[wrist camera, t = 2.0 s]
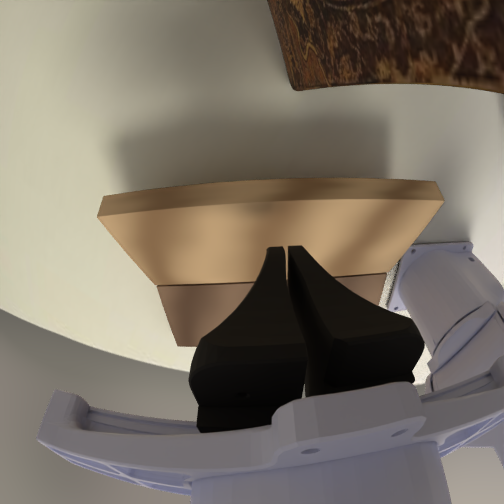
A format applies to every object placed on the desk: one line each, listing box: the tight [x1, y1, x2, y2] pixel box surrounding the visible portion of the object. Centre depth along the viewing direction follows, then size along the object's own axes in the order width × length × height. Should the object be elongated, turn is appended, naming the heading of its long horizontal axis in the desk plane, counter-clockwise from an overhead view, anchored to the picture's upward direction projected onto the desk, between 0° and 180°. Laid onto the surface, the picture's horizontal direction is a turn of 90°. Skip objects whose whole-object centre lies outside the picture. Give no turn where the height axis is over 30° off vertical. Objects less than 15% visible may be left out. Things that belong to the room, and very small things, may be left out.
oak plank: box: [97, 178, 445, 285], centre depth 18 cm, size 20×10×2 cm
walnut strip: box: [157, 272, 387, 347], centre depth 25 cm, size 20×8×2 cm, turn 93°
